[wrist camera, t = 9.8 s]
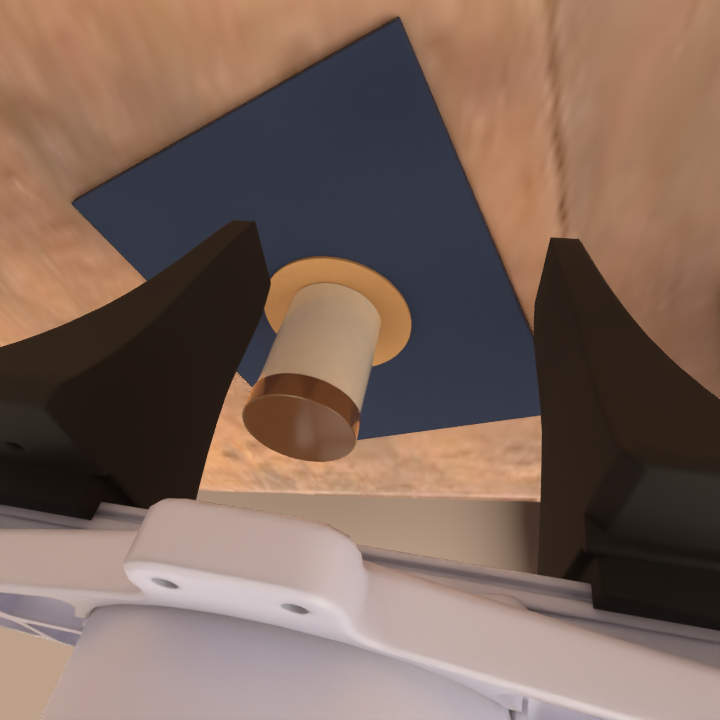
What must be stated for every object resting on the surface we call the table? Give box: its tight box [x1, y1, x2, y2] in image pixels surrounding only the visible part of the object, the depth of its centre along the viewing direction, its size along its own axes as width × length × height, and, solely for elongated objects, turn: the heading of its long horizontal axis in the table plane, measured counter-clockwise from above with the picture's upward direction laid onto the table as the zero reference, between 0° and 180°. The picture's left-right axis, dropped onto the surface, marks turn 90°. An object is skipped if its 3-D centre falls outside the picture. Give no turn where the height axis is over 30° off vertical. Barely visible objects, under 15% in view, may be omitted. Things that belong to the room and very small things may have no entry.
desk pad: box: [71, 17, 541, 440], centre depth 28 cm, size 22×18×1 cm
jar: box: [242, 283, 381, 462], centre depth 26 cm, size 5×5×7 cm
